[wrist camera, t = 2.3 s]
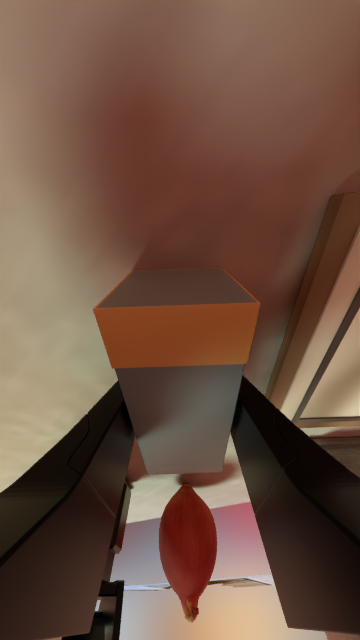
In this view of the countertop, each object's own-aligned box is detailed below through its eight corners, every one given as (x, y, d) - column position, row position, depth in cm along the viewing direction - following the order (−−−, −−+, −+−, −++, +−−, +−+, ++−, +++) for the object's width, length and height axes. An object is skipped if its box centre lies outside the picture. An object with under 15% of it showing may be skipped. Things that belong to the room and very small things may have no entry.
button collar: (286, 467, 18) (301, 500, 16) (305, 438, 15) (326, 474, 13) (342, 466, 18) (365, 498, 16) (371, 436, 15) (404, 472, 13)
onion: (206, 493, 22) (220, 621, 15) (162, 493, 21) (154, 622, 14) (213, 474, 19) (234, 622, 12) (161, 474, 19) (152, 624, 12)
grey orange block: (155, 404, 13) (146, 475, 9) (132, 270, 8) (93, 308, 4) (209, 403, 13) (222, 473, 9) (221, 266, 8) (260, 303, 4)
